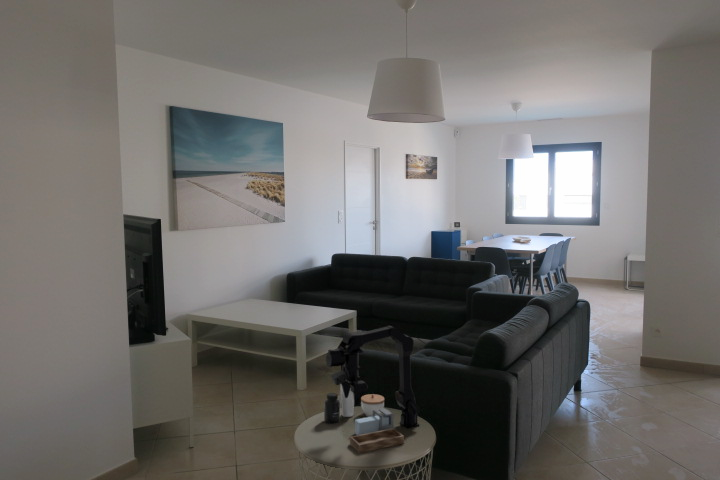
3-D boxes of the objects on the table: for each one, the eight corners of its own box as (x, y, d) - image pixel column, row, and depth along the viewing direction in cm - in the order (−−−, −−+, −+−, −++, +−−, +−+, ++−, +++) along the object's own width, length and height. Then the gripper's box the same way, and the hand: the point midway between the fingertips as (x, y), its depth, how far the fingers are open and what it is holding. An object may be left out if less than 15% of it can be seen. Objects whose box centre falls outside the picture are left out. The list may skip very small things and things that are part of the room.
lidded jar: (368, 421, 240) (368, 400, 239) (356, 412, 249) (356, 392, 248) (388, 416, 245) (388, 396, 244) (376, 408, 254) (376, 389, 254)
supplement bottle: (337, 424, 235) (337, 397, 235) (322, 423, 237) (322, 396, 236) (341, 418, 242) (341, 392, 241) (326, 417, 243) (326, 391, 243)
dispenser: (385, 425, 235) (385, 407, 234) (393, 431, 229) (393, 413, 228) (372, 428, 232) (372, 410, 231) (380, 434, 226) (380, 415, 225)
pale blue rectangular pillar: (384, 427, 233) (384, 414, 232) (388, 431, 229) (388, 417, 229) (354, 433, 227) (355, 419, 226) (359, 437, 223) (359, 423, 223)
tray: (393, 435, 225) (393, 428, 225) (403, 443, 217) (404, 435, 217) (349, 444, 216) (350, 437, 216) (359, 452, 208) (359, 445, 208)
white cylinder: (357, 413, 248) (357, 381, 247) (351, 419, 242) (352, 386, 241) (343, 411, 250) (343, 379, 249) (337, 417, 244) (338, 384, 243)
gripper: (324, 360, 226) (324, 397, 227) (343, 372, 210) (342, 412, 211) (348, 357, 231) (348, 393, 232) (368, 369, 215) (368, 407, 216)
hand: (351, 401), depth 223 cm, fingers open, 9 cm apart
